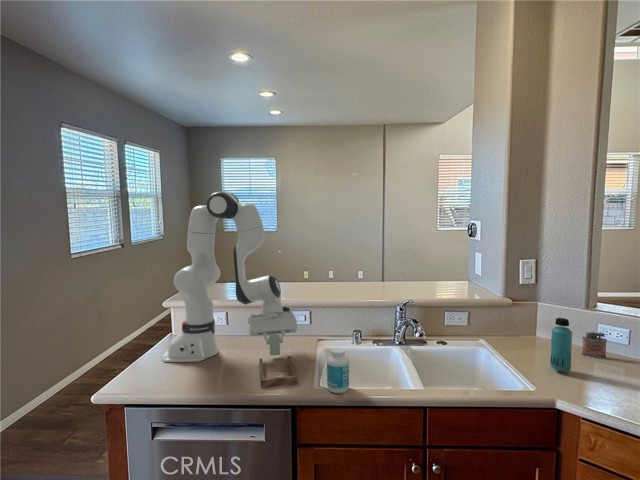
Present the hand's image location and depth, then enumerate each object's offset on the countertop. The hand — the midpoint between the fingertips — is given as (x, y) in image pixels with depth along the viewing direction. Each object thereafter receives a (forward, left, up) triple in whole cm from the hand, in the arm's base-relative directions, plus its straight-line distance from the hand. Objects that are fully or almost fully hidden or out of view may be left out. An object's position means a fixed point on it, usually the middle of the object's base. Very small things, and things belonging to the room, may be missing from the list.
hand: (274, 343), depth 147 cm
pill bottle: (+19, -30, -7) cm, 37 cm away
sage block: (0, +1, -5) cm, 5 cm away
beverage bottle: (+102, -36, -7) cm, 109 cm away
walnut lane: (0, -13, -7) cm, 15 cm away
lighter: (+127, -27, -7) cm, 130 cm away
